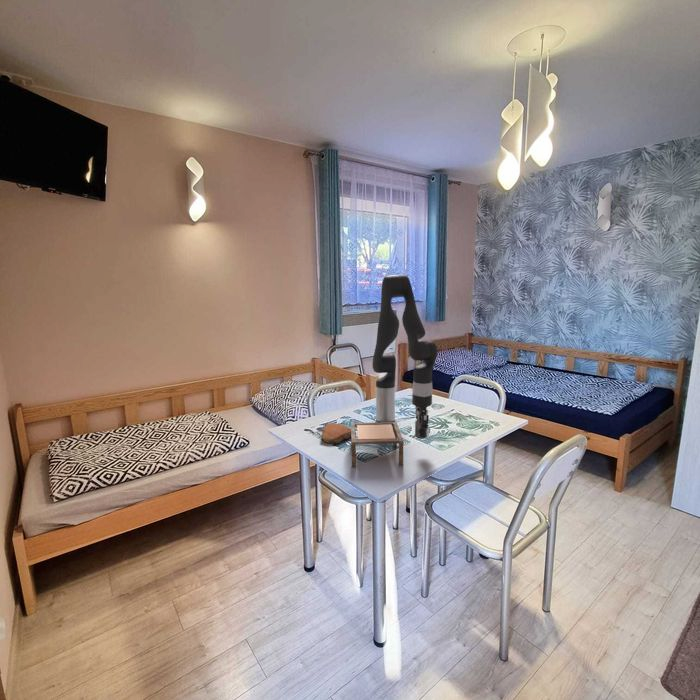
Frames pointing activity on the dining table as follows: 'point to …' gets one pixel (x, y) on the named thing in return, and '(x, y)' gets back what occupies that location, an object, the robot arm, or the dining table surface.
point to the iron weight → (417, 430)
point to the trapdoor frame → (393, 441)
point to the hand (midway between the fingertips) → (421, 433)
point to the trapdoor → (375, 432)
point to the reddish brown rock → (335, 433)
